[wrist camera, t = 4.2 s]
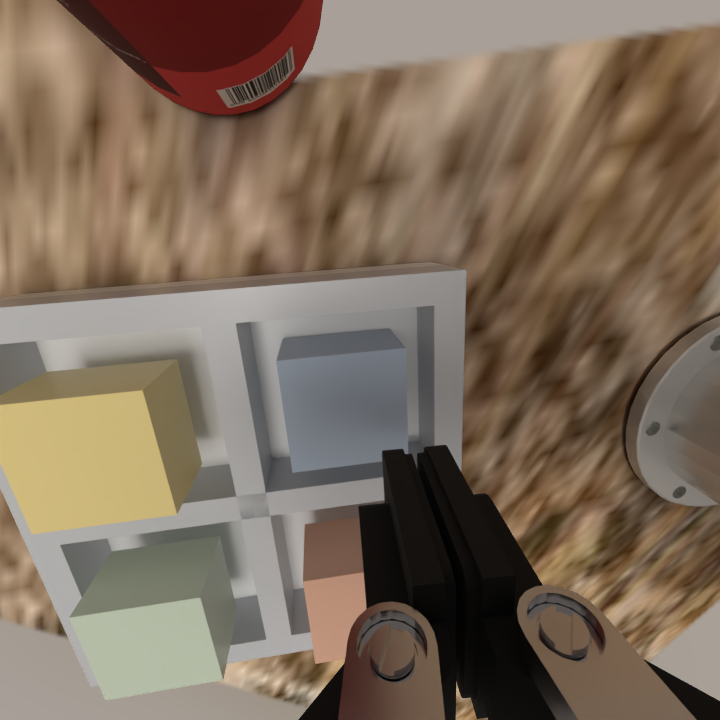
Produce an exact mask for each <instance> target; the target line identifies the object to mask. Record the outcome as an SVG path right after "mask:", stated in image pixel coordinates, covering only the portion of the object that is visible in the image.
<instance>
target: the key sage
mask: <svg viewBox="0 0 720 720" xmlns="http://www.w3.org/2000/svg"><path fill="white" fill-rule="evenodd" d="M236 614H237V608H236V603H235V599H234V595H233V591H232V587H231V582H230V578H229V574H228V570H227V566H226V561H225V557H224V553H223V549H222V545H221V540H220V536H217V537H210V538H203V539H196V540H189V541H181V542H174V543H167V544H160V545H153V546H146V547H139V548H132V549H124V550H117V551H111V553H110V555H109V556H108V558H107V559H106V561H105V562H104V564H103V565H102V567H101V569H100V570H99V572H98V573H97V575H96V576H95V578H94V579H93V581H92V583H91V584H90V586H89V587H88V589H87V590H86V592H85V594H84V595H83V597H82V598H81V600H80V601H79V603H78V604H77V606H76V608H75V609H74V611H73V612H72V614H71V615H70V617H69V619H70V621H71V624H72V626H73V628H74V630H75V633H76V635H77V637H78V639H79V642H80V644H81V646H82V648H83V651H84V653H85V655H86V657H87V660H88V662H89V664H90V666H91V669H92V671H93V673H94V676H95V678H96V680H97V682H98V685H99V687H100V689H101V691H102V694H103V696H104V698H105V700H111V699H116V698H122V697H128V696H134V695H139V694H145V693H151V692H157V691H162V690H168V689H174V688H179V687H185V686H191V685H197V684H203V683H208V682H214V681H220V680H223V678H224V673H225V668H226V663H227V659H228V654H229V649H230V644H231V639H232V634H233V629H234V624H235V619H236Z"/></svg>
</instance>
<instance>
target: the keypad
mask: <svg viewBox="0 0 720 720" xmlns="http://www.w3.org/2000/svg"><path fill="white" fill-rule="evenodd" d="M465 308H466V270H465V269H461V268H456V267H451V266H447V265H442V264H438V263H433V262H421V263H409V264H396V265H383V266H370V267H358V268H345V269H332V270H319V271H307V272H294V273H281V274H269V275H256V276H243V277H230V278H218V279H205V280H192V281H179V282H167V283H154V284H141V285H129V286H116V287H103V288H90V289H78V290H65V291H52V292H39V293H27V294H20V295H15V296H10V297H5V298H0V395H1V394H3V393H5V392H7V391H9V390H11V389H13V388H15V387H17V386H19V385H21V384H23V383H25V382H27V381H29V380H31V379H33V378H35V377H37V376H39V375H41V374H43V373H45V372H49V371H60V370H70V369H80V368H91V367H101V366H111V365H122V364H132V363H142V362H153V361H163V360H173V359H177V360H178V364H179V368H180V373H181V377H182V381H183V385H184V389H185V394H186V398H187V402H188V406H189V410H190V415H191V419H192V423H193V427H194V431H195V435H196V440H197V444H198V448H199V452H200V456H201V461H202V465H201V467H200V469H199V471H198V473H197V475H196V478H195V480H194V482H193V484H192V486H191V488H190V490H189V492H188V494H187V496H186V498H185V500H184V502H183V504H182V506H181V508H180V510H179V512H178V514H177V515H172V516H165V517H157V518H150V519H143V520H135V521H128V522H120V523H113V524H105V525H98V526H90V527H83V528H75V529H68V530H60V531H53V532H45V533H38V534H31V531H30V529H29V527H28V525H27V522H26V520H25V518H24V515H23V513H22V511H21V509H20V506H19V504H18V502H17V500H16V497H15V495H14V493H13V491H12V488H11V486H10V484H9V482H8V479H7V477H6V475H5V473H4V470H3V468H2V466H1V464H0V489H1V491H2V493H3V495H4V497H5V500H6V502H7V504H8V506H9V508H10V511H11V513H12V515H13V517H14V519H15V522H16V524H17V526H18V528H19V530H20V533H21V535H22V537H23V539H24V541H25V544H26V546H27V548H28V550H29V552H30V555H31V557H32V559H33V561H34V563H35V566H36V568H37V570H38V572H39V574H40V577H41V579H42V581H43V583H44V585H45V588H46V590H47V592H48V594H49V596H50V599H51V601H52V603H53V605H54V607H55V610H56V612H57V614H58V616H59V618H60V620H61V623H62V625H63V627H64V629H65V631H66V634H67V636H68V638H69V640H70V642H71V645H72V647H73V649H74V651H75V653H76V656H77V658H78V660H79V662H80V664H81V667H82V669H83V671H84V673H85V675H86V678H87V680H88V682H89V684H90V686H91V687H95V686H99V685H98V682H97V680H96V678H95V676H94V673H93V671H92V669H91V666H90V664H89V662H88V660H87V657H86V655H85V653H84V651H83V648H82V646H81V644H80V642H79V639H78V637H77V635H76V633H75V630H74V628H73V626H72V624H71V621H70V619H69V617H70V615H71V614H72V612H73V611H74V609H75V608H76V606H77V604H78V603H79V601H80V600H81V598H82V597H83V595H84V594H85V592H86V590H87V589H88V587H89V586H90V584H91V583H92V581H93V579H94V578H95V576H96V575H97V573H98V572H99V570H100V569H101V567H102V565H103V564H104V562H105V561H106V559H107V558H108V556H109V555H110V553H111V551H117V550H124V549H132V548H139V547H146V546H153V545H160V544H167V543H174V542H181V541H189V540H196V539H203V538H210V537H217V536H220V540H221V545H222V549H223V553H224V557H225V561H226V566H227V570H228V574H229V578H230V582H231V587H232V591H233V595H234V599H235V603H236V608H237V614H236V619H235V624H234V629H233V634H232V639H231V644H230V649H229V654H228V659H227V663H226V664H229V663H235V662H241V661H247V660H253V659H258V658H264V657H270V656H276V655H282V654H288V653H293V652H299V651H305V650H311V649H313V644H312V638H311V631H310V625H309V618H308V612H307V605H306V599H305V592H304V586H303V561H304V528H305V524H310V523H317V522H324V521H331V520H338V519H345V518H353V517H359V509H358V506H361V505H371V504H382V503H385V500H384V482H383V465H382V461H381V462H374V463H366V464H358V465H350V466H342V467H334V468H326V469H319V470H311V471H303V472H295V473H293V472H292V466H291V459H290V452H289V445H288V438H287V432H286V425H285V418H284V411H283V405H282V398H281V391H280V384H279V377H278V371H277V364H276V360H277V356H278V353H279V350H280V346H281V343H282V340H283V339H284V338H295V337H306V336H316V335H327V334H337V333H348V332H359V331H369V330H380V329H390V330H391V331H392V332H393V334H394V335H395V336H396V337H397V338H398V340H399V341H400V342H401V343H402V344H403V346H404V347H405V348H406V383H407V419H408V454H412V455H413V458H414V461H415V464H416V467H417V453H422V452H424V447H426V446H437V445H447V447H448V449H449V450H450V452H451V454H452V456H453V458H454V460H455V462H456V463H457V465H458V467H459V469H460V471H461V463H462V424H463V386H464V347H465Z"/></svg>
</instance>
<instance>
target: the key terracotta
mask: <svg viewBox="0 0 720 720" xmlns="http://www.w3.org/2000/svg"><path fill="white" fill-rule="evenodd" d="M303 586H304V592H305V599H306V605H307V612H308V618H309V625H310V631H311V638H312V644H313V651H314V657H315V664H317V663H323V662H328V661H334V660H340V659H345V657H346V648H347V641H348V637H349V633H350V630H351V627H352V625H353V624H354V622H355V621H356V619H357V617H358V616H359V615H360V614H362V613H363V612H364V611H365V610H366V609H367V608H366V596H365V583H364V571H363V558H362V546H361V534H360V521H359V517H353V518H345V519H338V520H331V521H324V522H317V523H310V524H305V528H304V561H303Z"/></svg>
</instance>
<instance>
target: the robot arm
mask: <svg viewBox="0 0 720 720" xmlns="http://www.w3.org/2000/svg"><path fill="white" fill-rule="evenodd" d="M626 449H627V455H628V460H629V462H630V464H631V466H632V469H633V471H634V473H635V474H636V475H637V477H638V478H639V479H640V480H641V481H642V482H643V484H645V485H646V486H647V487H649V488H650V489H651V490H653V491H654V492H655V493H657V494H658V495H659V496H661V497H662V498H664V499H666V500H668V501H670V502H673V503H676V504H681V505H685V506H703V507H704V506H711V505H718V504H720V316H718V317H716V318H714V319H712V320H710V321H707V322H705V323H703V324H701V325H700V326H699V327H697V328H696V329H694V330H693V331H691V332H690V333H688V334H687V335H685V336H684V337H682V338H681V339H680V340H679V341H678V342H677V343H676V344H675V345H674V346H672V347H671V348H670V349H669V350H668V351H667V352H666V353H665V354H664V355H663V356H662V357H661V359H660V360H659V361H658V362H657V363H656V365H655V366H654V367H653V368H652V369H651V371H650V372H649V374H648V375H647V377H646V378H645V380H644V382H643V383H642V385H641V387H640V388H639V390H638V392H637V395H636V397H635V399H634V402H633V404H632V406H631V409H630V413H629V418H628V422H627V426H626ZM382 465H383V482H384V500H385V503H382V504H371V505H361V506H358V509H359V521H360V534H361V546H362V558H363V571H364V583H365V596H366V608H367V609H366V610H365V611H364V612H363V613H362V614H360V615H359V616H358V617H357V619H356V621H355V622H354V624H353V625H352V627H351V630H350V633H349V637H348V641H347V648H346V657H345V663H344V665H343V666H342V667H341V668H340V670H339V671H338V672H337V673H336V674H335V676H334V677H333V678H332V679H331V681H330V682H329V683H328V684H327V685H326V687H325V688H324V689H323V690H322V692H321V693H320V694H319V695H318V696H317V698H316V699H315V700H314V701H313V703H312V704H311V705H310V706H309V707H308V709H307V710H306V711H305V712H304V714H303V715H302V716H301V717H300V719H299V720H455V718H456V681H457V685H458V688H459V692H460V694H461V697H462V698H470V697H471V700H472V703H473V707H474V710H475V714H476V717H477V719H479V718H487V717H488V720H720V701H718V700H717V699H715V698H713V697H711V696H709V695H707V694H706V693H704V692H702V691H700V690H698V689H697V688H695V687H693V686H691V685H689V684H688V683H686V682H684V681H682V680H680V679H678V678H677V677H675V676H673V675H671V674H669V673H667V672H666V671H664V670H662V669H660V668H658V667H657V666H655V665H653V664H651V663H649V662H647V661H646V660H644V659H643V658H642V657H641V656H640V655H639V654H638V653H637V652H636V650H635V649H634V648H633V647H632V646H631V645H630V644H629V643H628V641H627V640H626V639H625V638H624V637H623V636H622V635H621V633H620V632H619V631H618V630H617V629H616V628H615V627H614V626H613V624H612V623H611V622H610V621H609V620H608V619H607V618H606V616H605V615H604V614H603V613H602V612H601V611H600V610H599V609H598V608H596V607H595V606H594V605H593V604H592V603H591V602H590V601H588V600H587V599H585V598H584V597H582V596H580V595H579V594H577V593H575V592H573V591H570V590H568V589H565V588H563V587H557V586H551V585H542V583H541V582H540V580H539V578H538V577H537V575H536V573H535V572H534V570H533V568H532V567H531V565H530V563H529V562H528V560H527V558H526V557H525V555H524V553H523V552H522V550H521V548H520V547H519V545H518V543H517V542H516V540H515V538H514V537H513V535H512V533H511V532H510V530H509V528H508V527H507V525H506V523H505V522H504V520H503V518H502V516H501V515H500V513H499V511H498V510H497V508H496V506H495V505H494V503H493V501H492V500H491V498H490V497H489V496H488V495H487V494H475V495H473V493H472V491H471V489H470V488H469V486H468V484H467V482H466V480H465V478H464V476H463V475H462V473H461V471H460V469H459V467H458V465H457V463H456V462H455V460H454V458H453V456H452V454H451V452H450V450H449V449H448V447H447V445H437V446H426V447H424V452H422V453H417V467H416V464H415V461H414V458H413V455H412V454H405V453H404V450H403V449H393V450H382Z"/></svg>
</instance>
